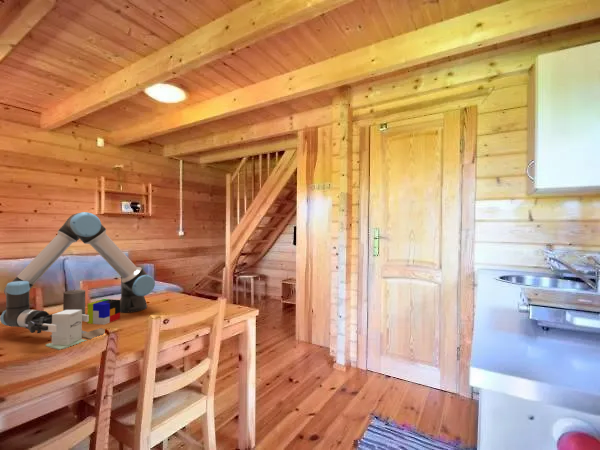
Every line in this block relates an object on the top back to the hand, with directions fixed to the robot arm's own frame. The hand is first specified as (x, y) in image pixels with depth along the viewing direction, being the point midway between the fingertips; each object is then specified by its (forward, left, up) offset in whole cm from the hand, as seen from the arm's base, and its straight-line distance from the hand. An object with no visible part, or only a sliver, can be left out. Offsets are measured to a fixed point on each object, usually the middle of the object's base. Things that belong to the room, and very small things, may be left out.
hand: (72, 323), depth 125 cm
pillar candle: (-23, -42, -9) cm, 49 cm away
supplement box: (0, -3, -8) cm, 9 cm away
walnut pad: (-11, -3, -9) cm, 15 cm away
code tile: (-6, -15, -9) cm, 18 cm away
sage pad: (+1, -3, -9) cm, 9 cm away
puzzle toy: (-25, -20, -9) cm, 33 cm away
